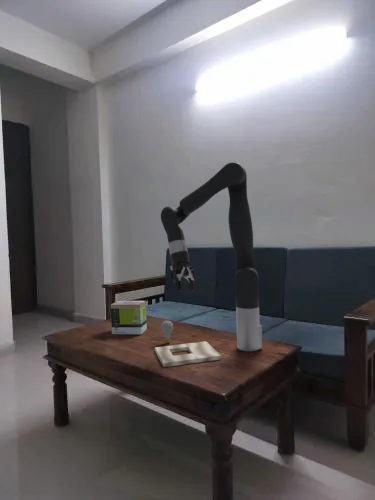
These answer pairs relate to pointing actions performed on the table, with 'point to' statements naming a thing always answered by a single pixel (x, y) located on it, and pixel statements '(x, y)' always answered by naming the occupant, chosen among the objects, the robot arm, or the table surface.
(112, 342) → the table surface
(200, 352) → the cream board with hole
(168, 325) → the light bulb
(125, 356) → the table surface
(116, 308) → the tea box
